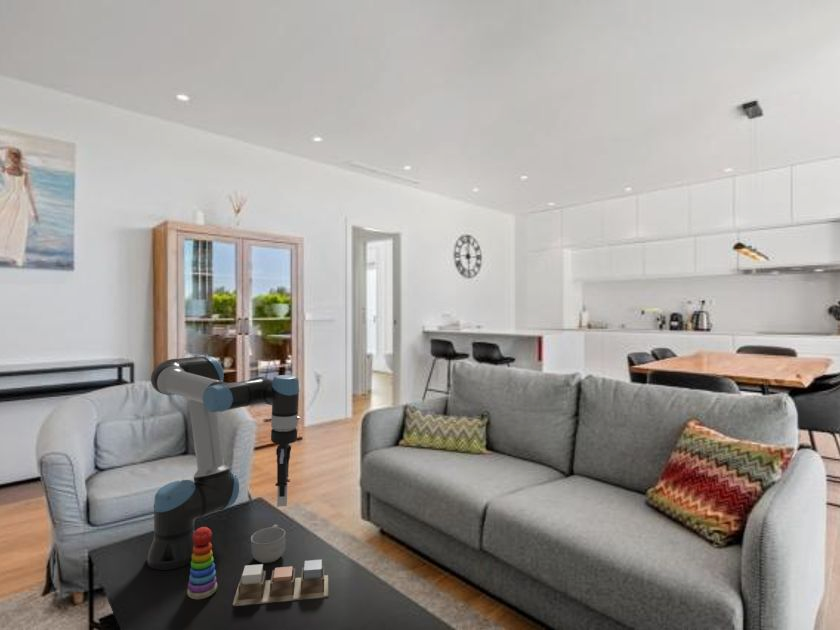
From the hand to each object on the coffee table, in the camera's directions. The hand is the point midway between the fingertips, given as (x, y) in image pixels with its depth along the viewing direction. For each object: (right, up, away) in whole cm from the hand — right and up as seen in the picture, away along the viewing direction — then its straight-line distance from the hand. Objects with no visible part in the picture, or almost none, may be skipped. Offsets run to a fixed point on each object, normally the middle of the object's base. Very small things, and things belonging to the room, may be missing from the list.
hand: (282, 505), depth 142 cm
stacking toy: (-21, -23, -6) cm, 32 cm away
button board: (+1, -24, -4) cm, 24 cm away
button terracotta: (+1, -22, -4) cm, 22 cm away
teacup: (-8, -23, +14) cm, 28 cm away
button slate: (+10, -21, -2) cm, 23 cm away
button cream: (-7, -20, -6) cm, 22 cm away
